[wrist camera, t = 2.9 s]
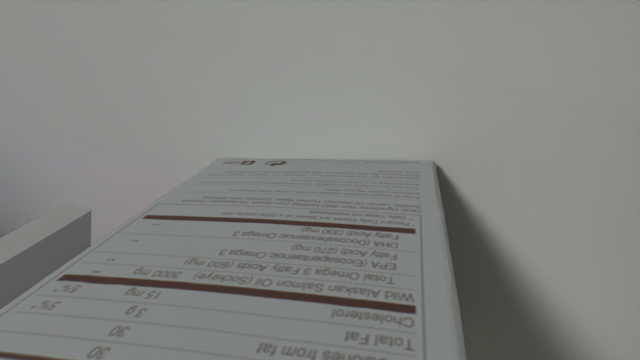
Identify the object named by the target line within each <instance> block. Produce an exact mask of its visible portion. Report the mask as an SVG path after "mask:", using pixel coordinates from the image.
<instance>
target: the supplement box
mask: <svg viewBox="0 0 640 360" xmlns="http://www.w3.org/2000/svg"><path fill="white" fill-rule="evenodd" d="M0 360H467V354H466V347H465V340H464V333H463V326H462V319H461V312H460V306H459V299H458V293H457V287H456V281H455V275H454V269H453V263H452V256H451V250H450V245H449V239H448V232H447V227H446V221H445V214H444V208H443V203H442V198H441V191H440V186H439V181H438V175H437V167H436V164H435V162H434V161H389V160H313V159H217V160H216V161H214V162H213V163H211V164H210V165H209V166H207V167H206V168H204V169H203V170H201V171H200V172H198V173H197V174H195V175H194V176H192V177H191V178H190V179H188V180H187V181H185V182H183V183H182V184H180V185H179V186H177V187H175V188H174V189H172V190H171V191H170V192H168V193H167V194H165V195H164V196H162V197H161V198H159V199H158V200H157V201H155V202H154V203H153V204H151V205H150V206H148V207H147V208H145V209H144V210H142V211H141V212H139V213H138V214H137V215H135V216H134V217H132V218H131V219H129V220H128V221H126V222H125V223H124V224H122V225H121V226H119V227H118V228H116V229H115V230H113V231H112V232H111V233H109V234H108V235H106V236H105V237H103V238H102V239H100V240H99V241H98V242H96V243H95V244H93V245H92V246H90V247H89V248H88V249H86V250H85V251H83V252H82V253H81V254H79V255H78V256H76V257H75V258H73V259H72V260H70V261H69V262H67V263H66V264H65V265H63V266H62V267H60V268H59V269H58V270H56V271H55V272H53V273H52V274H50V275H49V276H47V277H46V278H44V279H43V280H41V281H40V282H39V283H37V284H36V285H35V286H33V287H32V288H30V289H29V290H28V291H26V292H25V293H23V294H22V295H20V296H19V297H17V298H16V299H15V300H13V301H12V302H10V303H9V304H8V305H6V306H5V307H3V308H2V309H0Z"/></svg>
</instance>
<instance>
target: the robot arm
mask: <svg viewBox="0 0 640 360" xmlns="http://www.w3.org/2000/svg"><path fill="white" fill-rule="evenodd" d="M90 246H91V210H88V209H85V208H82V207H79V206H76V205H73V204H70V203H65V204H63V205H61V206H60V207H58V208H56V209H54V210H52V211H50V212H48V213H46V214H44V215H43V216H41V217H39V218H37V219H35V220H33V221H31V222H29V223H27V224H26V225H24V226H22V227H20V228H18V229H16V230H14V231H12V232H10V233H8V234H7V235H5V236H3V237H1V238H0V309H2V308H3V307H5V306H6V305H8V304H9V303H10V302H12V301H13V300H15V299H16V298H17V297H19V296H20V295H22V294H23V293H25V292H26V291H28V290H29V289H30V288H32V287H33V286H35V285H36V284H37V283H39V282H40V281H41V280H43V279H44V278H46V277H47V276H49V275H50V274H52V273H53V272H55V271H56V270H58V269H59V268H60V267H62V266H63V265H65V264H66V263H67V262H69V261H70V260H72V259H73V258H75V257H76V256H78V255H79V254H81V253H82V252H83V251H85V250H86V249H88V248H89V247H90Z"/></svg>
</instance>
